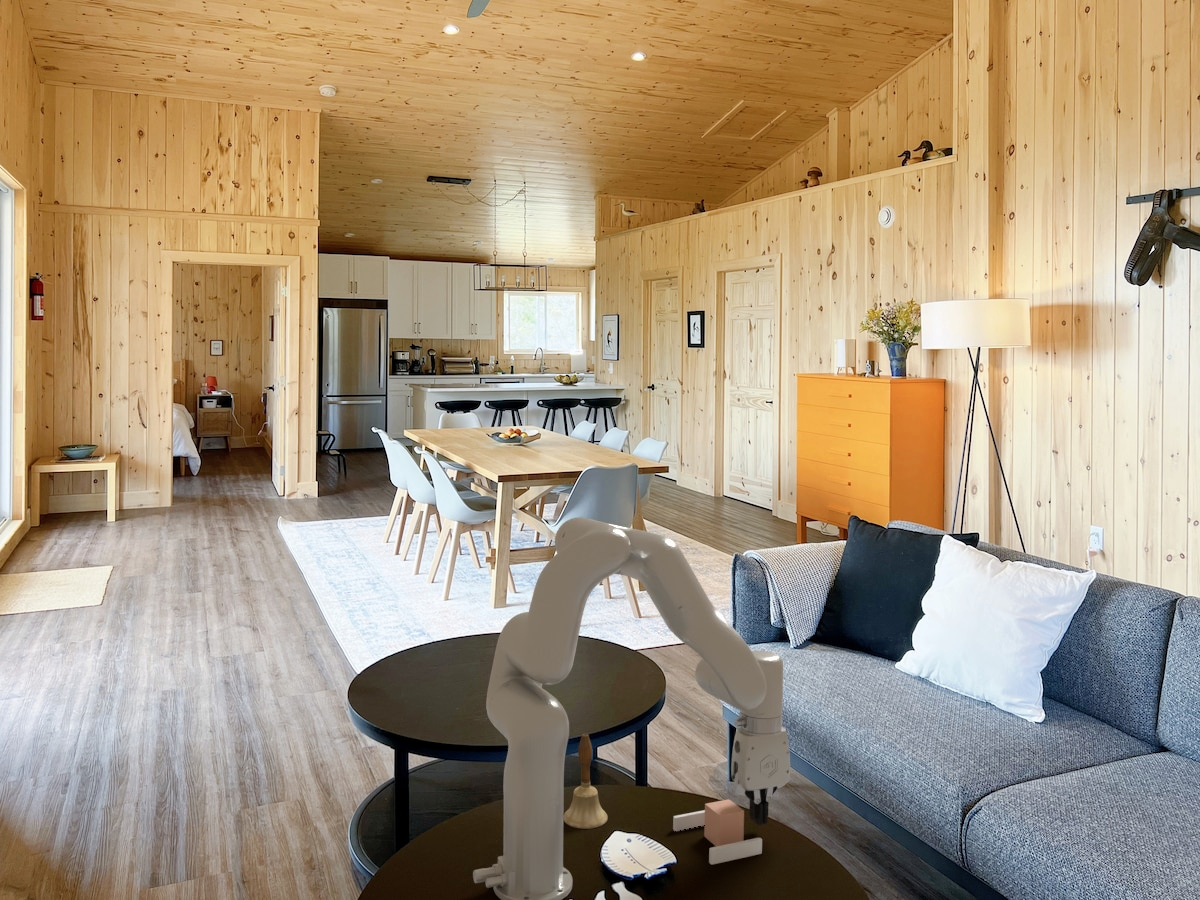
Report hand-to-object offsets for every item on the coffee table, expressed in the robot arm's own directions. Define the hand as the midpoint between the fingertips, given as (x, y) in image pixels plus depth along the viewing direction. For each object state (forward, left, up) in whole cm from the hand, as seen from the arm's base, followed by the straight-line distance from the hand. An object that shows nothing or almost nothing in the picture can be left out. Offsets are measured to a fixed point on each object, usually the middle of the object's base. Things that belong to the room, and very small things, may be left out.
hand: (758, 821), depth 166 cm
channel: (-9, 0, -2) cm, 9 cm away
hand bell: (-27, +17, -2) cm, 32 cm away
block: (-7, 0, -2) cm, 8 cm away
